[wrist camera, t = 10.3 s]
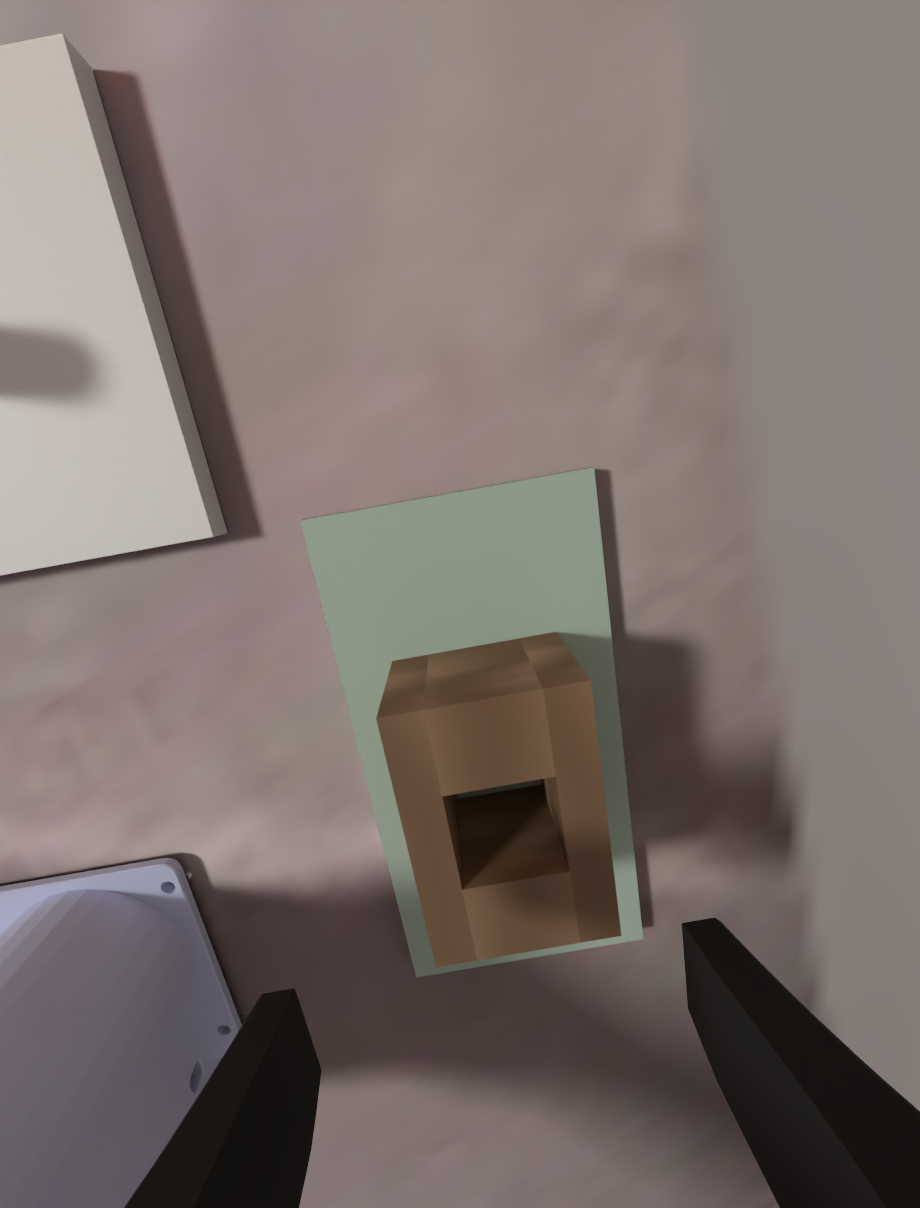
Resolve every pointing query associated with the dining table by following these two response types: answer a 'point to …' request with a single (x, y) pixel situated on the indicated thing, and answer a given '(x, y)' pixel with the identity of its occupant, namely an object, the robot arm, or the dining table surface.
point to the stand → (83, 338)
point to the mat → (472, 635)
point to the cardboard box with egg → (501, 797)
